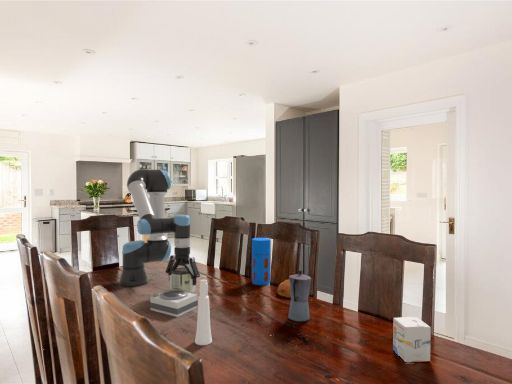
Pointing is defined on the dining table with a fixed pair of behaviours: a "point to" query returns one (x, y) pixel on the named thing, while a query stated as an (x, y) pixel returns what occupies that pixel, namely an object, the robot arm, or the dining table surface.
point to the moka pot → (299, 297)
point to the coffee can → (181, 279)
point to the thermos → (261, 261)
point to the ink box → (411, 339)
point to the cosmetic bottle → (203, 316)
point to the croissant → (284, 289)
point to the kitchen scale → (173, 302)
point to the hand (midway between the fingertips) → (182, 289)
